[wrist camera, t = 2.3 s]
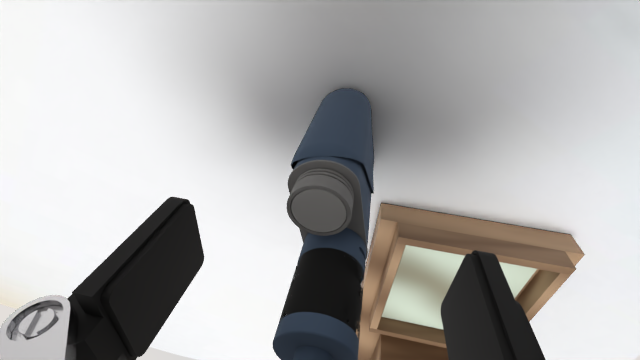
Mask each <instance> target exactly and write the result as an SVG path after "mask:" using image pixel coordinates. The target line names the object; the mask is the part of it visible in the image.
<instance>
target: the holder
mask: <svg viewBox="0 0 640 360" xmlns="http://www.w3.org/2000/svg"><path fill="white" fill-rule="evenodd" d="M474 250H477V251H483V252H488V253H494V254H495V255H496V257H497V258H498V261H499V263H500V266H501V268H502V270H503V273H504V275H505V277H506V280H507V282H508V285H509V287H510V289H511V292H512V294H513V296H514V299H515V301H518V302H519V303H520V304H521V306H522V308H523V309H524V312H525V314H526V316H527V318H528V321H530V320H531V319H532V318H533V317H534V316H535V315H536V314H537V312H538V311H539V310H540V309H541V308H542V307H543V306H544V305H545V303H546V302H547V301H548V300H549V299H550V298H551V297H552V296H553V294H554V293H555V292H556V291H557V290H558V289H559V288H560V287H561V285H562V284H563V283H564V282H565V281H566V280H567V279H568V278H569V276H570V275H571V274H572V273H573V272H574V271H575V270H576V268H575V265H576V264H577V263H578V262H579V261H580V259H581V258H582V257H583V256H584V255H585V254H584V253H583V251H582V250H581V248H580V247H579V246H578V244H577V243H576V241H575V240H574V238H573V237H572V236H571V235H569V234H563V233H557V232H551V231H545V230H539V229H533V228H527V227H521V226H515V225H509V224H503V223H497V222H491V221H485V220H479V219H473V218H468V217H462V216H456V215H450V214H444V213H438V212H432V211H426V210H420V209H414V208H408V207H402V206H396V205H390V204H384V203H381V205H380V209H379V214H378V218H377V222H376V226H375V230H374V234H373V238H372V242H371V247H370V251H369V255H368V259H367V263H366V267H365V273H364V279H363V280H364V285H363V281H362V284H361V286H362V287H363V299H362V309H361V315H360V316H361V322H360V337H359V350H358V360H449V358H448V353H447V347H446V341H445V336H444V330H443V324H442V318H441V304H442V302H443V300H444V298H445V296H446V293H447V291H448V289H449V287H450V285H451V283H452V281H453V279H454V277H455V275H456V273H457V271H458V269H459V267H460V265H461V263H462V261H463V259H464V257H465V255H466V254H471V253H472V252H473V251H474ZM362 287H361V288H362ZM361 290H362V289H361ZM360 299H361V298H360ZM357 330H358V329H357ZM357 330H356V333H358V332H357ZM358 334H359V333H358ZM356 335H357V334H356Z"/></svg>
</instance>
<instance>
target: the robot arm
mask: <svg viewBox="0 0 640 360" xmlns="http://www.w3.org/2000/svg"><path fill="white" fill-rule="evenodd" d="M203 261H204V254H203V249H202V244H201V239H200V234H199V229H198V225H197V220H196V215H195V210H194V206H193V205H192V204H190V202H189V200H187V199H182V198H176V197H170V198H168V199H167V200H166V201H165V202H164V203H163V204H162V205H161V206H160V207H159V208H158V209H157V210H156V211H155V212H154V213H153V214H152V215H151V216H150V217H149V218H148V219H147V220H146V221H145V222H144V223H142V224H141V225H140V226H139V227H138V228H137V229H136V230H135V231H134V232H133V233H132V234H131V235H130V236H129V237H128V238H127V239H126V240H125V241H124V242H123V243H122V244H121V245H120V246H119V247H118V248H117V249H116V250H115V251H114V252H113V253H112V254H111V255H110V256H109V257H108V258H107V259H106V260H105V261H104V262H103V263H102V264H101V265H100V266H98V267H97V268H96V269H95V270H94V271H93V272H92V273H91V274H90V275H89V276H88V277H87V278H86V279H85V280H84V281H83V282H82V283H81V284H80V285H79V286H78V287H77V288H76V289H75V290H74V291H73V292H72V293H73V294H72V295H71V296H70V297H69V298H68V299H67V298H65V297H63V296H60V295H50V296H45V297H41V298H38V299H36V300H33V301H31V302H29V303H27V304H25V305H23V306H22V307H20V308H18V309H17V310H16V311H15V312H13V313H12V314H11V315H10V316H9V317H8V318H7V319H6V320H5V322H4V323H3V324H2V326H1V328H0V360H136V358H137V357H140V356H142V355H143V354H144V353H145V352H146V350H147V349H148V347H149V346H150V344H151V343H152V341H153V340H154V338H155V337H156V335H157V334H158V332H159V330H160V329H161V327H162V326H163V324H164V323H165V321H166V320H167V318H168V317H169V315H170V314H171V312H172V311H173V309H174V308H175V306H176V304H177V303H178V301H179V300H180V298H181V297H182V295H183V294H184V292H185V291H186V289H187V288H188V286H189V285H190V283H191V282H192V280H193V278H194V277H195V275H196V274H197V272H198V271H199V269H200V268H201V266H202V264H203ZM441 318H442V324H443V330H444V336H445V341H446V347H447V353H448V358H449V360H545V357H544V355H543V353H542V351H541V348H540V346H539V344H538V341H537V339H536V337H535V335H534V332H533V330H532V328H531V325H530V323H529V321H528V318H527V316H526V314H525V312H524V309H523V308H522V306H521V304H520V303H519V302H518V301H515V299H514V296H513V294H512V292H511V289H510V287H509V285H508V282H507V280H506V277H505V275H504V273H503V270H502V268H501V266H500V263H499V261H498V258H497V257H496V255H495V254H494V253H488V252H483V251H477V250H474V251H473V252H472V253H471V254H466V255H465V257H464V259H463V261H462V263H461V265H460V267H459V269H458V271H457V273H456V275H455V277H454V279H453V281H452V283H451V285H450V287H449V289H448V291H447V293H446V296H445V298H444V300H443V302H442V304H441Z"/></svg>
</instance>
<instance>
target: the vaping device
mask: <svg viewBox="0 0 640 360" xmlns="http://www.w3.org/2000/svg"><path fill="white" fill-rule="evenodd" d="M373 164H374V151H373V138H372V120H371V106H370V102H369V100H368V99H367V97H366V96H365V95H364V94H363V93H361V92H360V91H357V90H354V89H346V88H343V89H339V90H335V91H333V92H332V93H330V94H328V95H327V96H326V97H325V98H324V99H323V100H322V102H321V104H320V106H319V108H318V110H317V112H316V114H315V116H314V118H313V120H312V122H311V124H310V126H309V128H308V130H307V132H306V134H305V136H304V138H303V139H302V141H301V143H300V145H299V147H298V149H297V151H296V153H295V155H294V158H293V160H292V163H291V166H292V168H293V171H292V173H291V174H290V177H289V179H288V188H289V192H290V196H289V198H288V201H287V212H288V215H289V217H290V218H291V220H292V221H293V222H294V224H295V225H297V226H298V227H299V228H300V232H301V236H302V239H303V243H304V244H303V247H302V250H301V253H300V257H299V260H298V263H297V266H298V267H297V266H296V270H295V273H294V276H293V279H292V280H293V281H292V282H291V286H290V289H289V292H288V295H287V299H286V302H285V305H284V308H283V311H282V315H281V318H280V321H279V325H278V328H277V331H276V334H275V337H274V340H273V349H274V351H275V353H276V355H277V356H278V357H279V358H280V359H281V360H358V350H359V337H360V322H361V316H360V315H361V309H362V299H363V287H362V286H361V285H360V284H362V283H361V282H362V281H363V285H364V280H363V279H364V273H365V260H366V258H367V253H368V250H367V243H368V230H369V217H370V203H371V193H374V192H373ZM295 274H296V275H295ZM294 277H295V278H294ZM361 287H362V288H361ZM361 289H362V290H361ZM360 298H361V299H360ZM285 315H286V316H285ZM357 329H358V330H357ZM356 330H357V332H358V333H359V334H358V333H356ZM356 334H357V335H356Z"/></svg>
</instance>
